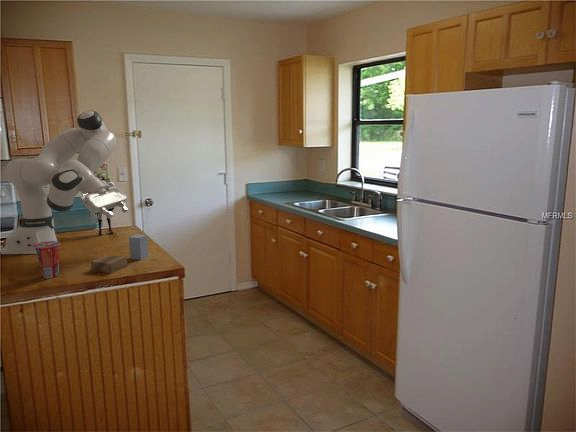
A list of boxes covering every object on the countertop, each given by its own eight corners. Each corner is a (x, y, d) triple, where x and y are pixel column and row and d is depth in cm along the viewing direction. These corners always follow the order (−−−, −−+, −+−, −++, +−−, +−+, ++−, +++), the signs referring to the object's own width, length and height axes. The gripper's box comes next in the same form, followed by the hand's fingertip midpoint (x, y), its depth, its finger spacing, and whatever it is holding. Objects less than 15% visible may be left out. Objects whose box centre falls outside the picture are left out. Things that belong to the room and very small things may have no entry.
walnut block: (91, 271, 177) (90, 261, 177) (108, 264, 186) (107, 254, 185) (111, 274, 174) (110, 263, 174) (127, 267, 183) (126, 256, 182)
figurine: (90, 237, 227) (84, 174, 221) (89, 234, 233) (83, 173, 227) (122, 233, 234) (117, 172, 228) (120, 230, 239) (115, 171, 233)
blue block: (130, 258, 192) (128, 237, 190) (138, 255, 197) (136, 234, 195) (141, 259, 191) (139, 238, 189) (148, 256, 195) (146, 235, 193)
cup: (58, 270, 178) (54, 239, 176) (67, 275, 172) (64, 243, 170) (31, 276, 171) (27, 244, 169) (40, 282, 166) (36, 249, 163)
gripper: (81, 189, 185) (105, 214, 184) (115, 181, 204) (137, 203, 203) (73, 201, 188) (98, 225, 187) (108, 192, 207) (130, 213, 205)
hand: (119, 213), depth 195 cm, fingers open, 8 cm apart
